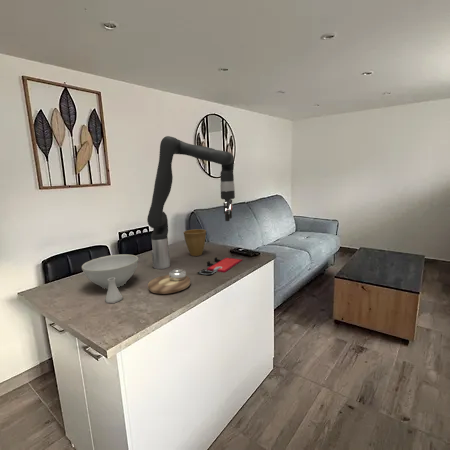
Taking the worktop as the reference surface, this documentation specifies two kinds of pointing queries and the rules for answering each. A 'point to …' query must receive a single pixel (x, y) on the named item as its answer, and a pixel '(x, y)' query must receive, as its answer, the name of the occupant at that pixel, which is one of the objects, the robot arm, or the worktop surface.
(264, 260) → the worktop surface
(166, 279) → the turntable
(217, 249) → the worktop surface
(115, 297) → the flask
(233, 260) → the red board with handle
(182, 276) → the cover
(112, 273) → the decorative bowl
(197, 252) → the plant pot
